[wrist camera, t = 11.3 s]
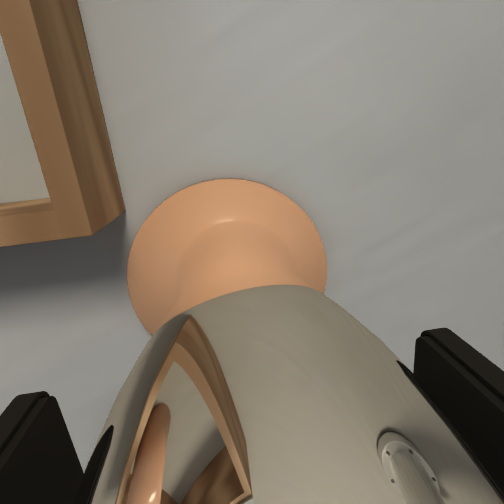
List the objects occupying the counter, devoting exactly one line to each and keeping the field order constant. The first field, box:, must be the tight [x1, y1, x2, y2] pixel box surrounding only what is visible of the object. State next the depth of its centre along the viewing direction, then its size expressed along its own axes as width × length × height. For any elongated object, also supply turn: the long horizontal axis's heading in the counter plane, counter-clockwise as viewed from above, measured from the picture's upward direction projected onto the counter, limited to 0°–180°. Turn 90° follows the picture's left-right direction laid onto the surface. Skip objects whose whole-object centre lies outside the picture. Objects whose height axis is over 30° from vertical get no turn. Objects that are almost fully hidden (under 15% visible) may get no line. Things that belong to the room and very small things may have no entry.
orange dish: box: [127, 178, 327, 336], centre depth 17 cm, size 10×10×1 cm
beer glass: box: [74, 220, 504, 504], centre depth 9 cm, size 7×7×15 cm
